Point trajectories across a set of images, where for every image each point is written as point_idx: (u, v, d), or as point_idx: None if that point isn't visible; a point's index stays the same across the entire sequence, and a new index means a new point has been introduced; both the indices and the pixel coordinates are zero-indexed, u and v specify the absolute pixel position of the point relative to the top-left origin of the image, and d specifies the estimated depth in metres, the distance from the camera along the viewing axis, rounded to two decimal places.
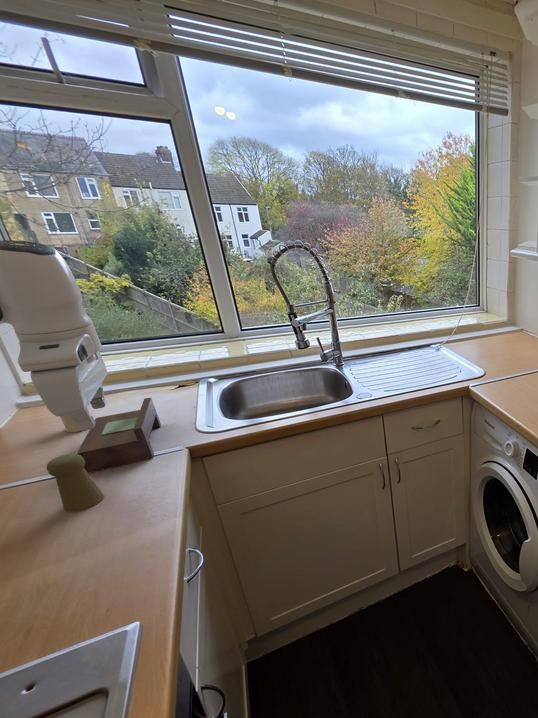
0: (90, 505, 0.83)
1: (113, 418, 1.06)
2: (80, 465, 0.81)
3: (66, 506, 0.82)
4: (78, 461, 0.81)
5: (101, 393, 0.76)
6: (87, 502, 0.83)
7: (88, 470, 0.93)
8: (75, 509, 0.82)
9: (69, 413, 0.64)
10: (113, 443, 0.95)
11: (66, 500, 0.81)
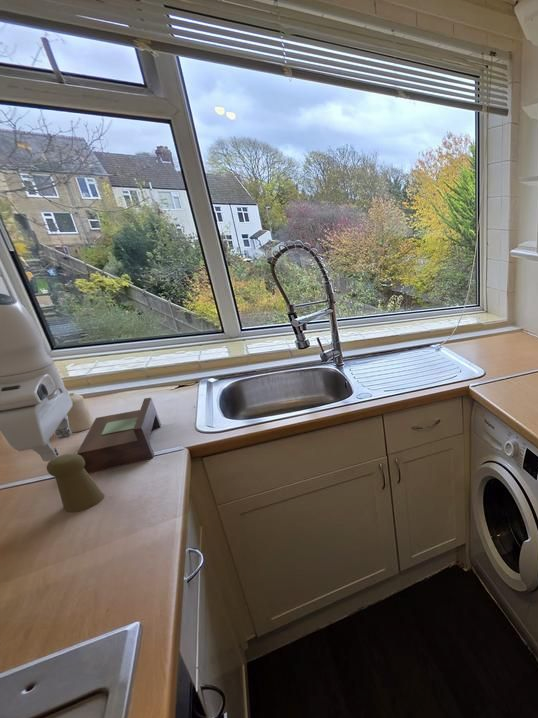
0: (90, 505, 0.83)
1: (113, 418, 1.06)
2: (80, 465, 0.81)
3: (66, 506, 0.82)
4: (78, 461, 0.81)
5: (66, 424, 0.83)
6: (87, 502, 0.83)
7: (88, 470, 0.93)
8: (75, 509, 0.82)
9: (30, 448, 0.70)
10: (113, 443, 0.95)
11: (66, 500, 0.81)
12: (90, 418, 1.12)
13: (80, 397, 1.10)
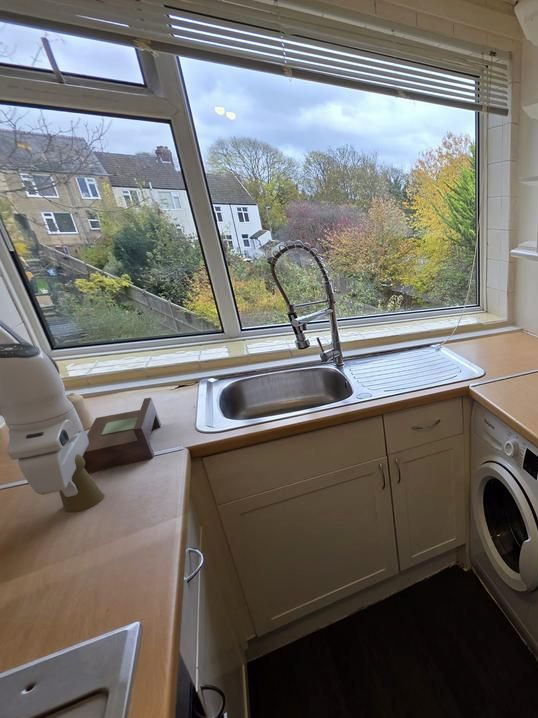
0: (90, 505, 0.83)
1: (113, 418, 1.06)
2: (80, 465, 0.81)
3: (66, 506, 0.82)
4: (78, 461, 0.81)
5: None
6: (87, 502, 0.83)
7: (88, 470, 0.93)
8: (75, 509, 0.82)
9: (52, 491, 0.74)
10: (113, 443, 0.95)
11: (66, 500, 0.81)
12: (90, 418, 1.12)
13: (80, 397, 1.10)
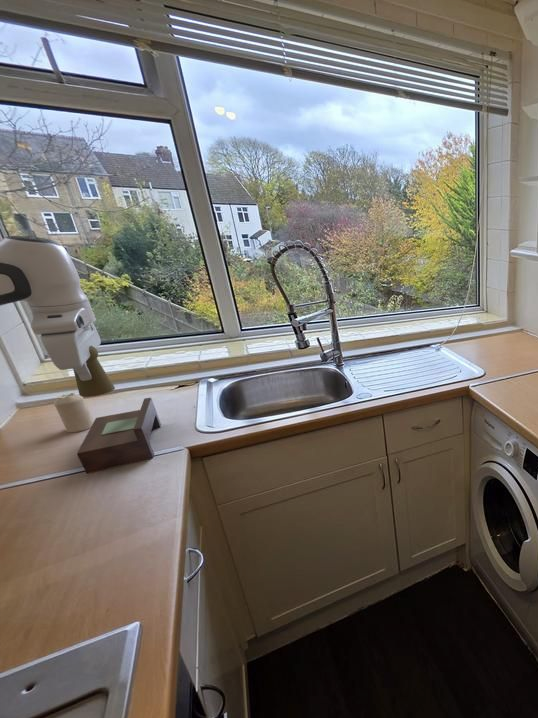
0: (102, 392, 0.93)
1: (113, 418, 1.06)
2: (93, 354, 0.91)
3: (81, 391, 0.91)
4: (92, 350, 0.91)
5: None
6: (100, 389, 0.93)
7: (88, 470, 0.93)
8: (89, 394, 0.92)
9: (70, 367, 0.83)
10: (113, 443, 0.95)
11: (81, 385, 0.91)
12: (90, 418, 1.12)
13: (80, 397, 1.10)
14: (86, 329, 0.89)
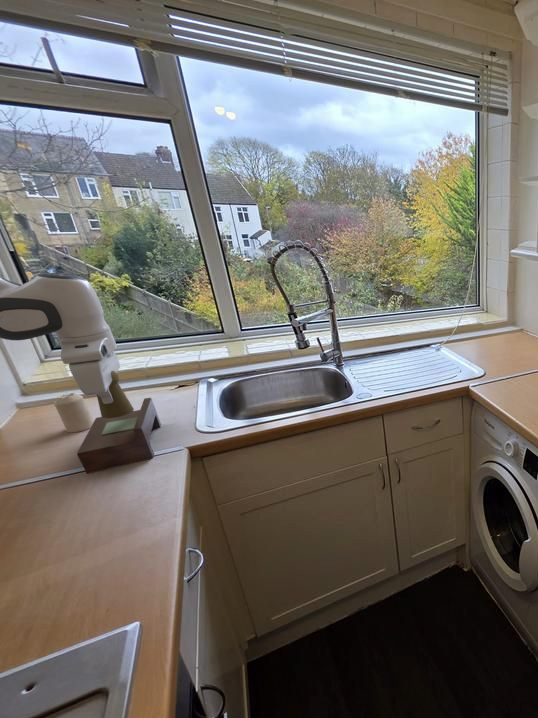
0: (123, 414, 1.00)
1: (113, 418, 1.06)
2: (115, 378, 0.98)
3: (104, 413, 0.98)
4: (113, 375, 0.98)
5: None
6: (120, 411, 1.00)
7: (88, 470, 0.93)
8: (111, 416, 0.99)
9: (95, 393, 0.90)
10: (113, 443, 0.95)
11: (104, 407, 0.98)
12: (90, 418, 1.12)
13: (80, 397, 1.10)
14: (108, 356, 0.96)
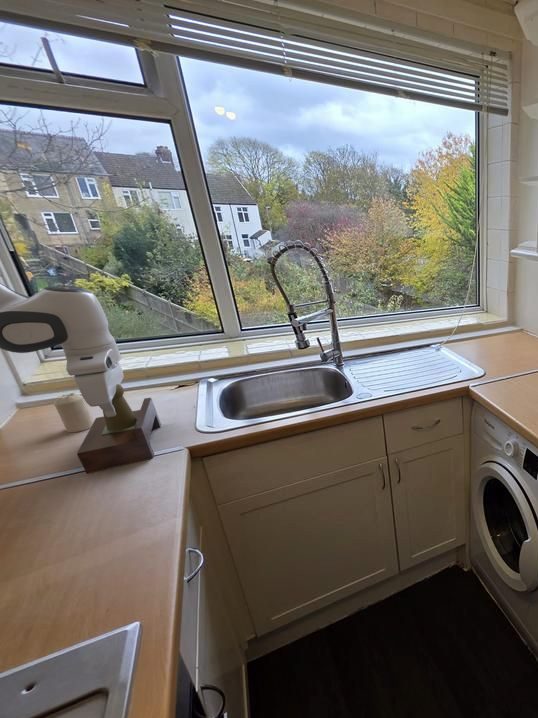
0: (128, 426, 1.01)
1: None
2: (120, 392, 0.99)
3: (109, 426, 1.00)
4: (119, 388, 0.99)
5: None
6: (125, 423, 1.01)
7: (88, 470, 0.93)
8: (116, 428, 1.00)
9: (100, 404, 0.92)
10: (113, 443, 0.95)
11: (109, 420, 0.99)
12: (90, 418, 1.12)
13: (80, 397, 1.10)
14: (113, 367, 0.97)
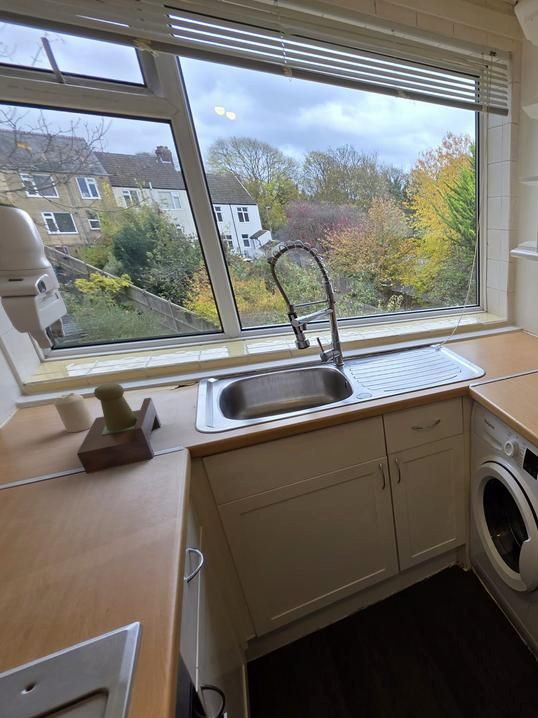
0: (128, 426, 1.01)
1: None
2: (120, 392, 0.99)
3: (109, 426, 1.00)
4: (119, 388, 0.99)
5: (60, 326, 0.97)
6: (125, 423, 1.01)
7: (88, 470, 0.93)
8: (116, 428, 1.00)
9: (30, 331, 0.85)
10: (113, 443, 0.95)
11: (109, 420, 0.99)
12: (90, 418, 1.12)
13: (80, 397, 1.10)
14: (49, 295, 0.90)
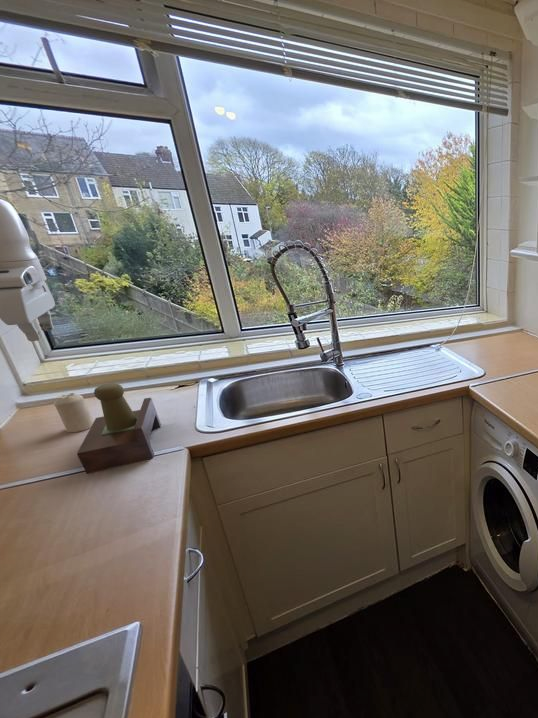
0: (128, 426, 1.01)
1: None
2: (120, 392, 0.99)
3: (109, 426, 1.00)
4: (119, 388, 0.99)
5: (49, 319, 0.97)
6: (125, 423, 1.01)
7: (88, 470, 0.93)
8: (116, 428, 1.00)
9: (17, 323, 0.84)
10: (113, 443, 0.95)
11: (109, 420, 0.99)
12: (90, 418, 1.12)
13: (80, 397, 1.10)
14: (36, 287, 0.90)
